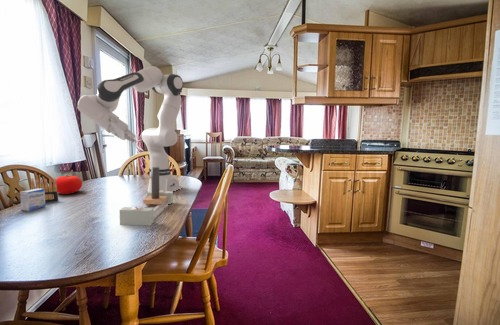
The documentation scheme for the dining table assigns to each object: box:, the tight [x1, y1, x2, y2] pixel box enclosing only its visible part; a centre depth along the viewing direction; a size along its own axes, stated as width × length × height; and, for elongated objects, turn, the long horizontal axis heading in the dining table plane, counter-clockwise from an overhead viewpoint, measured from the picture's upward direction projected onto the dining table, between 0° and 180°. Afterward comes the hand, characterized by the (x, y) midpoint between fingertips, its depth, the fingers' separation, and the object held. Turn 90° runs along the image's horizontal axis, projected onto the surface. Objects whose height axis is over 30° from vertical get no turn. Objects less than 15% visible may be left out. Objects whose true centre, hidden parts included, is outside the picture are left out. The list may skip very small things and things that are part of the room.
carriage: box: [142, 167, 167, 205], centre depth 128 cm, size 8×9×17 cm
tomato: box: [55, 174, 83, 195], centre depth 150 cm, size 14×13×10 cm
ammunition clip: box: [30, 177, 59, 203], centre depth 131 cm, size 11×2×12 cm, turn 120°
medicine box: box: [19, 188, 46, 212], centre depth 121 cm, size 8×4×9 cm, turn 168°
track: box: [119, 191, 174, 226], centre depth 121 cm, size 34×12×6 cm, turn 1°
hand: (134, 139), depth 132 cm, fingers open, 8 cm apart
